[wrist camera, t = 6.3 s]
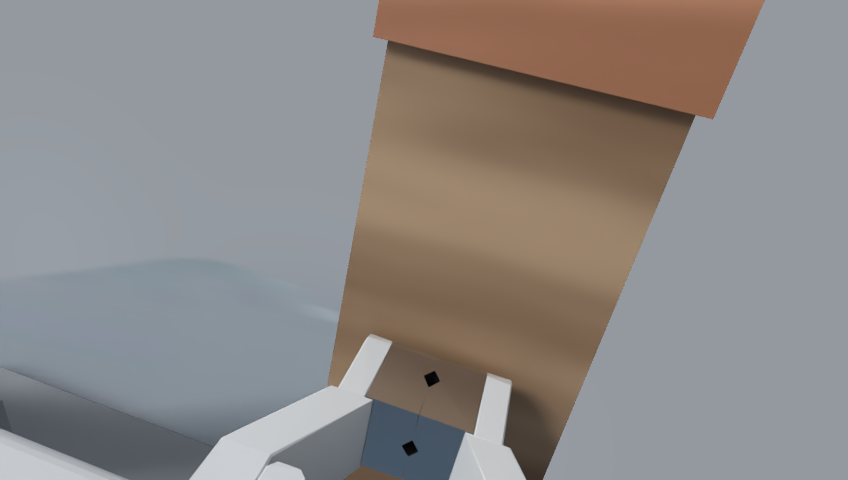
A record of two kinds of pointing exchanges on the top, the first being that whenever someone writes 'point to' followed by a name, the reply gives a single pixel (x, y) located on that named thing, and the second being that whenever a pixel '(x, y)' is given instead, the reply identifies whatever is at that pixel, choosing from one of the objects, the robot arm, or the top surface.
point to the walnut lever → (523, 182)
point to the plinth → (95, 432)
